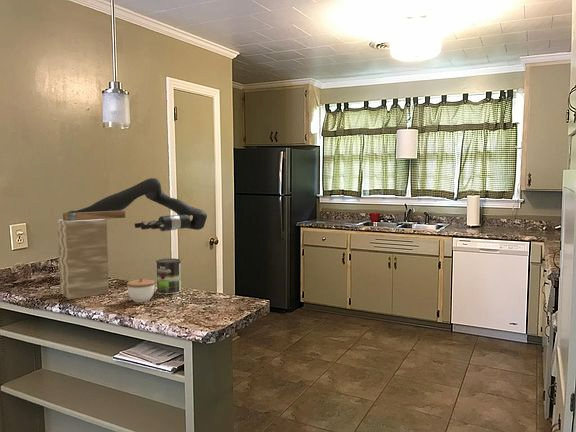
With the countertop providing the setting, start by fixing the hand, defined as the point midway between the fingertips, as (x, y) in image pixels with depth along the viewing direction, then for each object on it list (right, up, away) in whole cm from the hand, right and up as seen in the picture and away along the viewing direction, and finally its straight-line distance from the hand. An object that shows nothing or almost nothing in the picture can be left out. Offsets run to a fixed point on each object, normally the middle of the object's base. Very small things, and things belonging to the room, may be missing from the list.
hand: (138, 226), depth 226 cm
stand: (-16, -28, -23) cm, 40 cm away
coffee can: (+20, -28, -21) cm, 41 cm away
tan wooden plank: (-12, +4, -22) cm, 25 cm away
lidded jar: (+13, -30, -36) cm, 48 cm away
